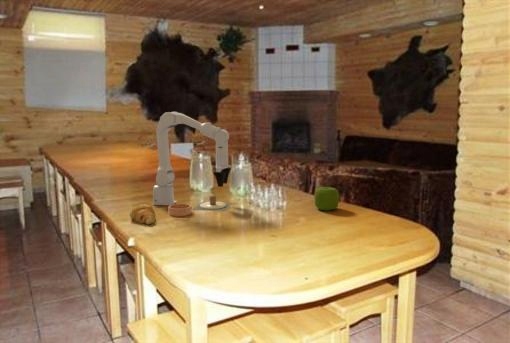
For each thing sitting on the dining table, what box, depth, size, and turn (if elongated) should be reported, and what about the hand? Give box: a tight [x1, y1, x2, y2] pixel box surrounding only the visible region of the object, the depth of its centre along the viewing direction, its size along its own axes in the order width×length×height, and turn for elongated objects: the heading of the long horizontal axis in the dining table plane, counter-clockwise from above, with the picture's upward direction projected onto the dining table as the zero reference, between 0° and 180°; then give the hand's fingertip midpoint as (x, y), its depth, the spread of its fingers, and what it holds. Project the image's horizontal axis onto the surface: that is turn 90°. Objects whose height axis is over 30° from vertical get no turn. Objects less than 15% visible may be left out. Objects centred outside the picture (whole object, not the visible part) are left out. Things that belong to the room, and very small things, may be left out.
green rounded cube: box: [314, 185, 340, 212], centre depth 202 cm, size 11×11×11 cm
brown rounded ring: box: [167, 203, 193, 217], centre depth 195 cm, size 10×10×4 cm
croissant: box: [129, 202, 156, 225], centre depth 187 cm, size 21×10×8 cm, turn 32°
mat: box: [192, 201, 233, 212], centre depth 207 cm, size 15×15×1 cm
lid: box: [199, 194, 226, 209], centre depth 206 cm, size 12×12×5 cm
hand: (222, 184), depth 207 cm, fingers open, 7 cm apart
